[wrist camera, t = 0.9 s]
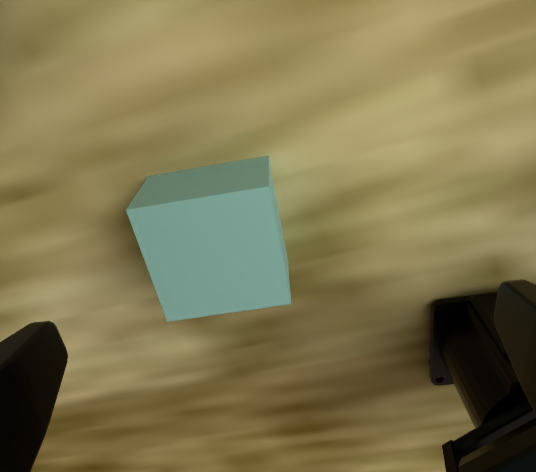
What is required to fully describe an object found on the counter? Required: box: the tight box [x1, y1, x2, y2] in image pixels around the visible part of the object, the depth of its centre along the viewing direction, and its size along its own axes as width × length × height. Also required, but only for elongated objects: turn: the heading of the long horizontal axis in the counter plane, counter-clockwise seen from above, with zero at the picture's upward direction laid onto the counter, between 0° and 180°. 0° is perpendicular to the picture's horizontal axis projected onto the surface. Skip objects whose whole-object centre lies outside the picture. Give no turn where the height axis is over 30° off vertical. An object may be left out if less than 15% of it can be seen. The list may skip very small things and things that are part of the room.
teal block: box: [126, 156, 291, 322], centre depth 21 cm, size 6×6×4 cm
